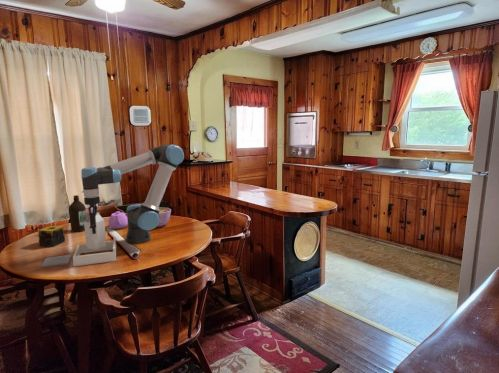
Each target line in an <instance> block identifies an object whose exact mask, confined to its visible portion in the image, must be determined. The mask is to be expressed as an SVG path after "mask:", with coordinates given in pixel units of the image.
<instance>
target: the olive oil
mask: <svg viewBox="0 0 499 373" xmlns="http://www.w3.org/2000/svg"><path fill="white" fill-rule="evenodd" d="M72 198H73V201H72V203H70V205H69V206H68V216H69V221H70V222H69V223H70V229H71V230H70V231H71V232H73V233H81V232H85V227H84V221H85V220H86V219H87V208H86V205H85V203H83V202H81V200H80V197H79V195H78V194H77V195H76V194H75V195H73V196H72Z"/></svg>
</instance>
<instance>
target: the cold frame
mask: <svg viewBox="0 0 499 373" xmlns="http://www.w3.org/2000/svg"><path fill="white" fill-rule="evenodd" d="M116 238H117V237H116V236H114V237H113V240H109V241H107V240H106V246H104V247H102V248H99V249H97V250H94V249H89V248H87V245H86V243H82V244H77V246H76V248H75V251H74V252H73V256H72V264H73V267H80V266H86V265H87V266H88V265H93V264H102V263H110V262H116V261H117V239H116ZM111 250H112V251H111ZM104 251H106V252H104ZM96 252H97V253H96ZM98 252H99V253H98ZM87 253H89V254H87ZM90 253H91V254H90ZM83 254H84V255H83Z"/></svg>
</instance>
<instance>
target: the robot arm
mask: <svg viewBox="0 0 499 373" xmlns="http://www.w3.org/2000/svg"><path fill="white" fill-rule="evenodd" d="M184 159H185V154H184V150H183V148H181V147H180V146H178V145H175V144H162V145H159V146H156V147H153V148H151V149H148V150H147V152H144V153H140V154H139V155H136V156H135V155H134V156H132V157H129V158H127V159H123V160H120V161H118V162H115V163H112V164H109V165H105V166H102V167H95V166H93V167H91V166H90V167H83V168H81V171H80V172H81V175H80V176H81V183H82V191H81V193H82V194H83V197H84V198H83V201H84V203H83V204H84V205H85V206H89V207H88V208H87V209H88V215H90V227H89V228H91V234H92V240H95V239H98V236H97V227H96V215H97V213H98V204H100V203H101V200H100V199H101V198H100V189H99V185H108V184H116V183H120V182H121V181H122V175H124V174H127V173H129V172H132V171H135V170H137V169H140V168H143V167H146V166H148V165H151V164H152V165H156V164H158V168H157V171H156V173H155V176H154V179H153V180H152V183H151V186H150V189H149V190H148V193H147V196H146V198H145V201H144V202H143V203H139V204H137V203H136V204H131V205H128V206H126V216H127V220H128V225H127V232H126V235H125V242H126V241H127V242H126V243H128V244H144V243H146V242H148V241H150V240H151V239H152V238H151V233H150V231H151V230H153V229H155V228H157V227H156V226H157V225H158V223H159V216H158V214H159V212H160V210H159V207H160V204H161V202H162V199H163V197H164V195H165V192H166V188H167V187H168V184H169V181H170V179H171V176H172V173H173V171H175V170H177V168H178V166H179V165H180V164H181V163H183V161H184Z"/></svg>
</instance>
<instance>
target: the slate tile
mask: <svg viewBox="0 0 499 373" xmlns="http://www.w3.org/2000/svg"><path fill="white" fill-rule="evenodd" d="M71 259H72V254H64V255H58V256H56V255H55V256H49V257H46V258H45V259H44V260H43V262H42V263H41V266H40V268H42V269H43V268H51V267H57V266H59V267H60V266H67V265H69V264H70V261H71Z"/></svg>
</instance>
